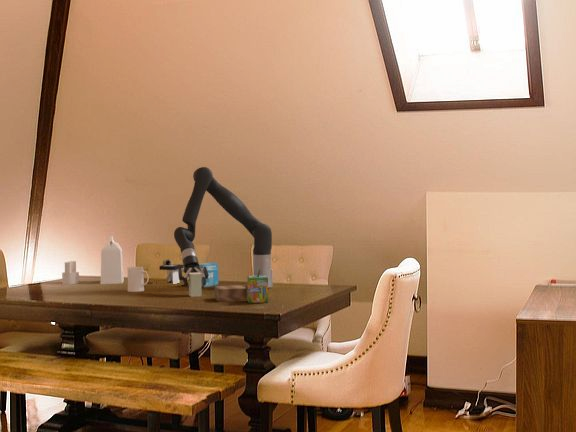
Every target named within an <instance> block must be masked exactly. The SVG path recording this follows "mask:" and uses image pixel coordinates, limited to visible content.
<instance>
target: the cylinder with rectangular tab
mask: <svg viewBox="0 0 576 432" xmlns="http://www.w3.org/2000/svg"><path fill="white" fill-rule="evenodd" d="M61 273H62V274H61V276H62V281H61V283H62V285H76V284H80V272H79V271H77V261H76V260H71V261H66V262H64V272H61Z"/></svg>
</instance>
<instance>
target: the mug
mask: <svg viewBox="0 0 576 432" xmlns="http://www.w3.org/2000/svg"><path fill="white" fill-rule="evenodd" d="M126 269H127V292H130V293H131V292H132V293H134V292H135V293H138V292H144V291H145V286H144V285H146V284H147V283H149V279H150V277H149V273H148V272H147V271H146V270H144V266H129V267H127V268H126ZM145 274H146V277H147V279H146V280H147V281H146V282H145V280H144V279H145V278H144V276H145Z"/></svg>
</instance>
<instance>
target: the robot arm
mask: <svg viewBox="0 0 576 432" xmlns="http://www.w3.org/2000/svg"><path fill="white" fill-rule="evenodd" d="M192 178H193V182H194V184H193V188H192V192H191V195H190V197H189V200H188V201H187V204H186V206H185V209H184V212H183V215H182V219H181V221H182V222H183V223H184V224H185V225H187V228H186V227H184V226H183V227H182V226H178V227H176V228H175V230H174V232H173V238H174V241H175V242H176V244H177V246H178V247H179V249H180V254H181V261H182V265H183V268H179V270H178V275H179V280H180V281H183V282H184V285H185V286H184V287H186V288H187V287H189V285H188V282H187V281H188V279H189V273H201V279H202V283H203V286H205V285H206V279H208V276H209V275H208V271H207V268H206V267H204V268H200V267H199V264H200V263H199V260H198V255H197V253H196V252H197V251H196V247H195V244H194V242H193V241H194V240H195V237H196V225H197V224H196V223H197V219H198V217H199V213H200V209H201V207H202V203H203V199H204V197H205V194H206V192H207V193H208V194H209V195H210V196H211V197H212V198H213V199H214V200H215V202H216V203H217V204H219V206H221V207H222V209H223V210H224V211H226V212H227V213H228V214H229V215H230V216H231V217H232V218H234V220H236V221H237V222H239V223H240V224H241V225H242V226H243V227H244V228H245V229H246V230H247V231H248V233H249V234H250V235H251V236H252V237H253V245H254V246H253V249H252V252H253V253H252V258H253V259H252V261H253V262H252V263H253V265H252V266H253V267H252V268H253V269H252V271H253V274H252V276H257V275H258V271H259V269H260V273H259V276H267V277H268V289H269V288H273V286H274V285H273V284H274V283H273V279H274V278H273V269H272V247H273V245H272V244H273V239H272V238H273V235H272V234H273V232H272V229H271V226H269V225H268V224H266V223H263V222H262V221H260V220H259V219H257V217H255V216H254V215H253V214H252V213H251V212H250V209H249V208H248V207H247V206H246V205H245V204H244V202H243V201H242V200H241V199H240V198H239V197H238V196H237V195H236V194H235V193H233V192H232V191H231V190H229V189H228V188H226V187H225V186H223V185H222V184H221V183H220V182H218V180H217V179H216V178H215V177H214V176H213V172H212V170H211V169H210V168H209V167H207V166H202V167H201V166H200V167H198V168H197V169H195V171H194V172H193V176H192ZM201 271H202V272H203V273H204V274H202V272H201ZM183 273H185V274H184V276H183Z"/></svg>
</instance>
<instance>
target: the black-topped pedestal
mask: <svg viewBox="0 0 576 432" xmlns="http://www.w3.org/2000/svg"><path fill="white" fill-rule="evenodd" d="M179 268H181V269H184V266H183V264H174V263H173V260H171V259H170V258H169V259H165V260H164V259H163V261H162V264H161V265H159V271H160V270H161V271H167V275H166V281H167V283H172V282H173V284H177V283H180V281H181V280H179V275H178V270H179ZM157 281H158V280H156V283H157ZM153 282H154V281H151V282H150V283H151V284H152V283H153ZM188 286H189V284H188Z"/></svg>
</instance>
